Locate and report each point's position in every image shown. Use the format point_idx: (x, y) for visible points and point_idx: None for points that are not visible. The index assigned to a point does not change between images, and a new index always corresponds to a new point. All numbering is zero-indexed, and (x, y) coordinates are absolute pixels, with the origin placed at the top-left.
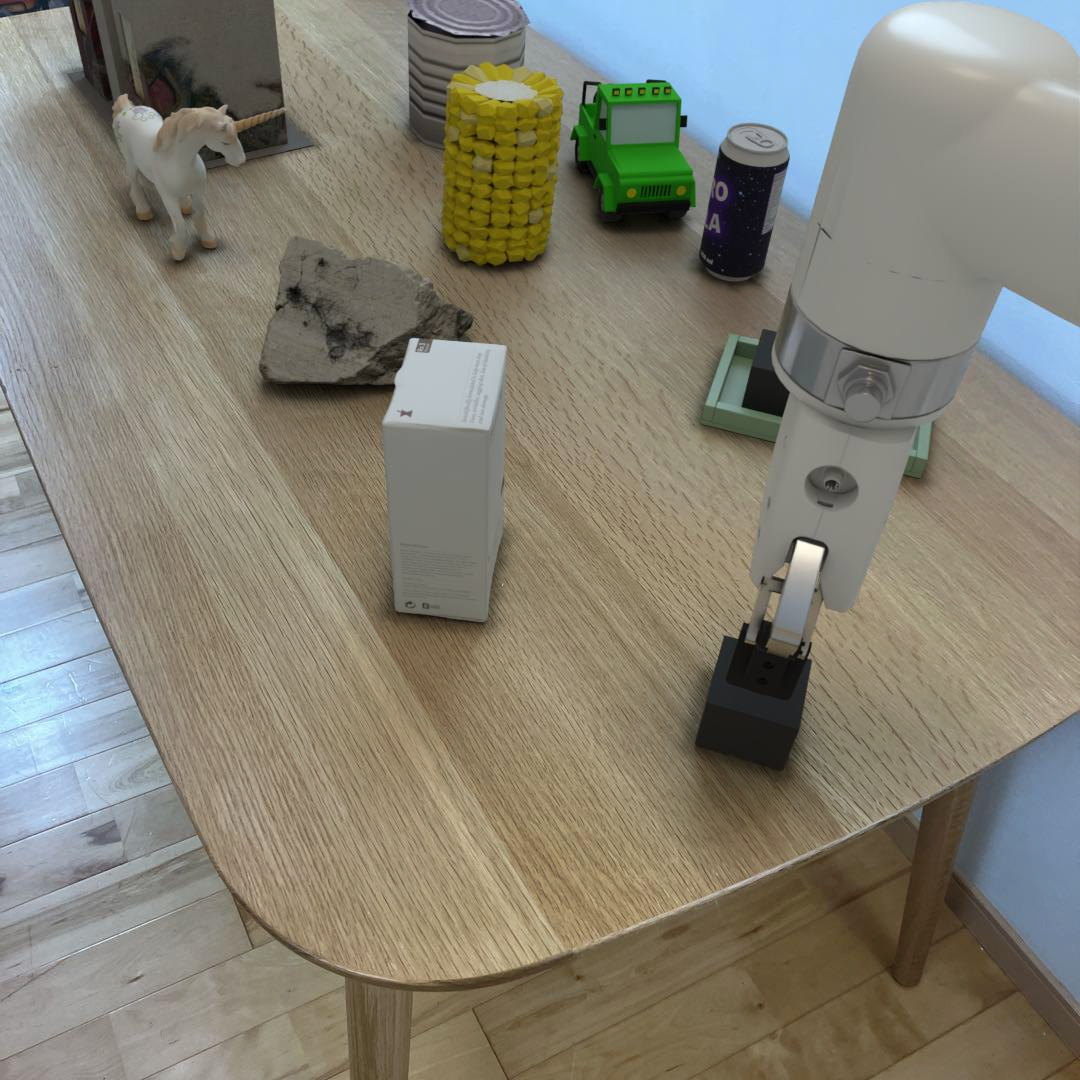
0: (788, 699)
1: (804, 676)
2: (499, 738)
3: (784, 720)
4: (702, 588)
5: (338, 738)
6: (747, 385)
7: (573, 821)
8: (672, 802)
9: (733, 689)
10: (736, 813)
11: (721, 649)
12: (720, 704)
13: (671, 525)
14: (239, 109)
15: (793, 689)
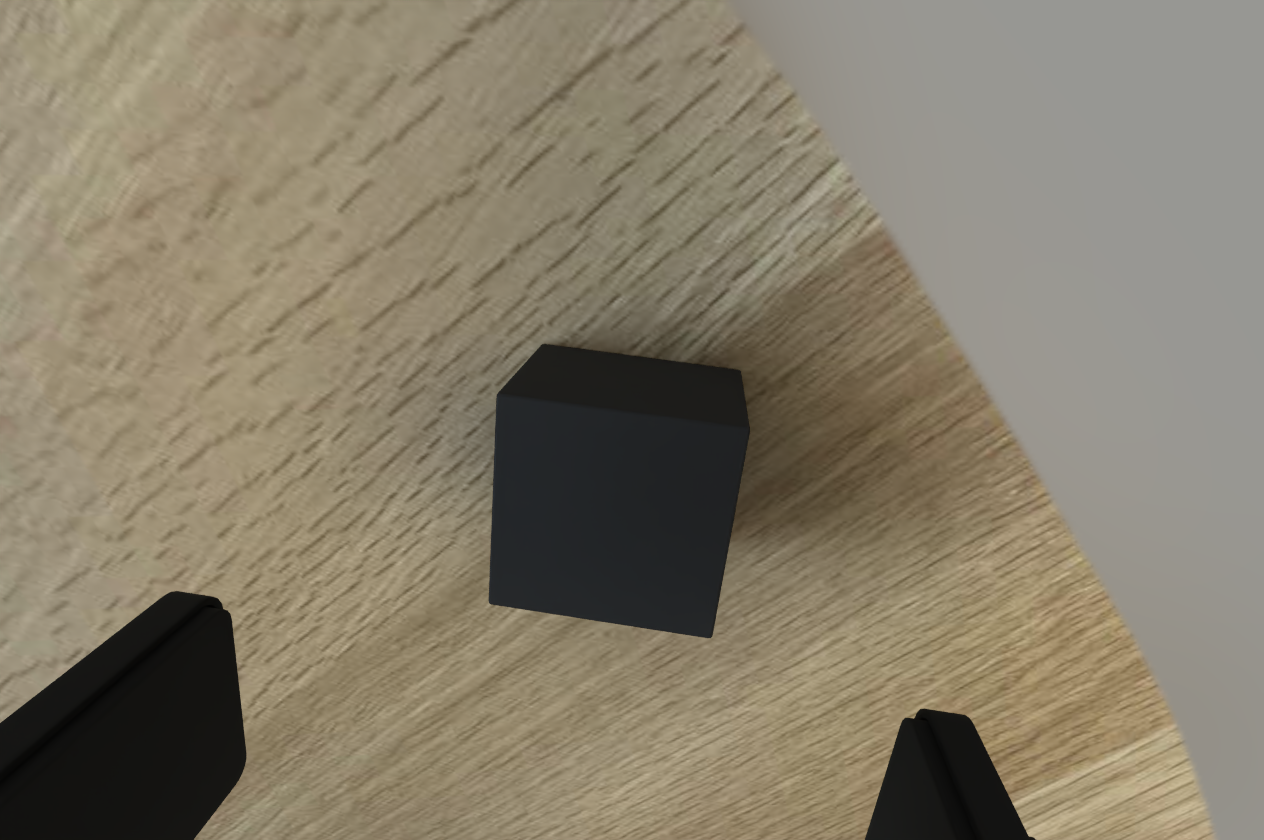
0: (966, 716)
1: (562, 414)
2: (765, 834)
3: (728, 466)
4: (300, 543)
5: None
6: None
7: None
8: (854, 575)
9: (657, 584)
10: (864, 459)
11: (538, 611)
12: (709, 610)
13: None
14: None
15: (993, 768)
